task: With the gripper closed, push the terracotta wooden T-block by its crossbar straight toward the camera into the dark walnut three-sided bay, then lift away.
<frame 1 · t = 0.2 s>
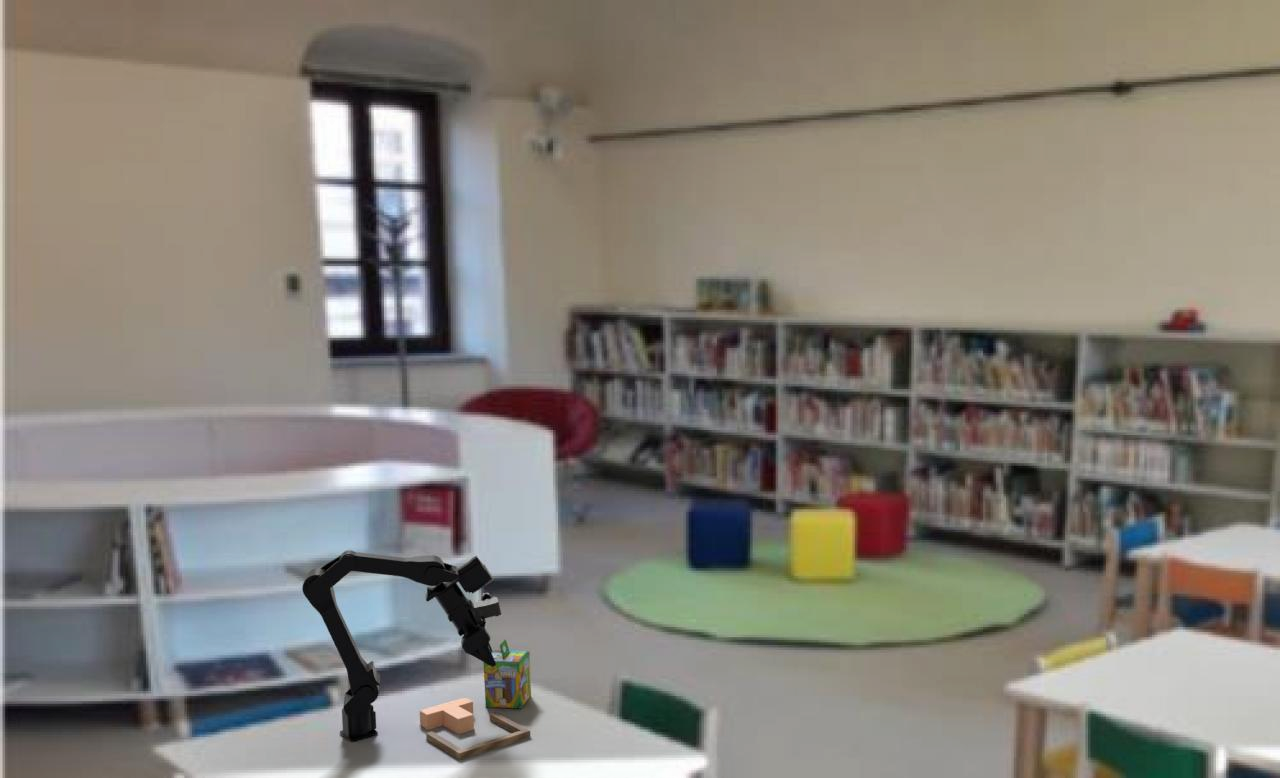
hand: (492, 659, 258), 15 cm above the table, tool tilted 30°, fingers open, 9 cm apart
t block: (453, 724, 258), on the table
bay: (475, 736, 250), on the table
chalk box: (508, 702, 271), on the table
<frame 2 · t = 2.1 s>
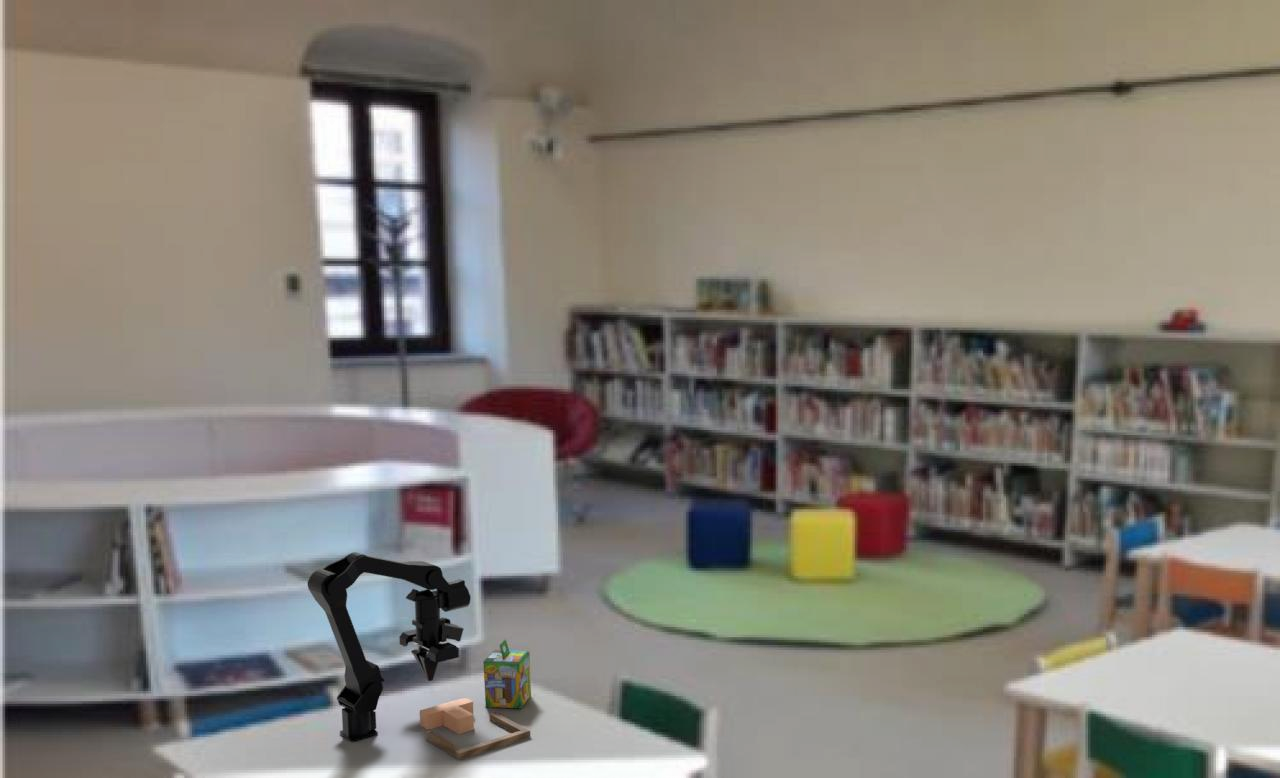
hand: (430, 680, 265), 8 cm above the table, tool pointing down, fingers closed
nothing on the table moved.
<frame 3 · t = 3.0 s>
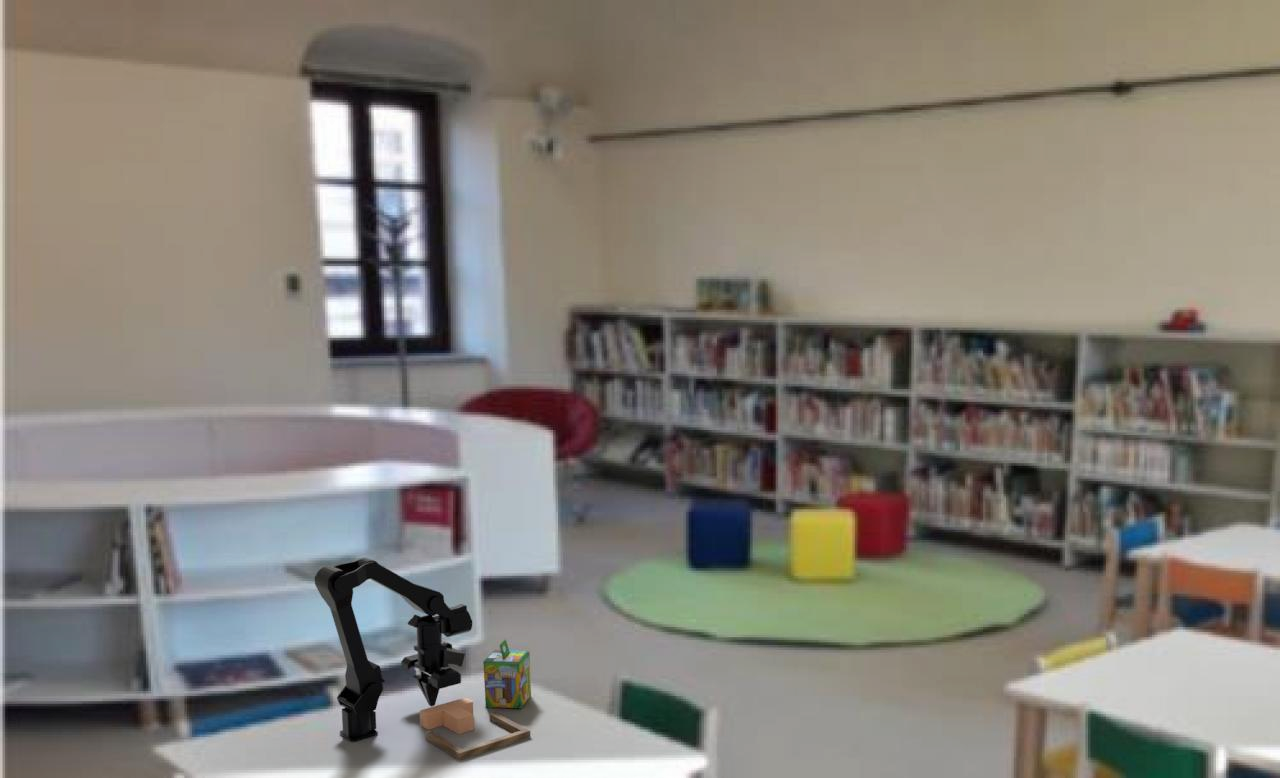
hand: (432, 705, 265), 2 cm above the table, tool pointing down, fingers closed
nothing on the table moved.
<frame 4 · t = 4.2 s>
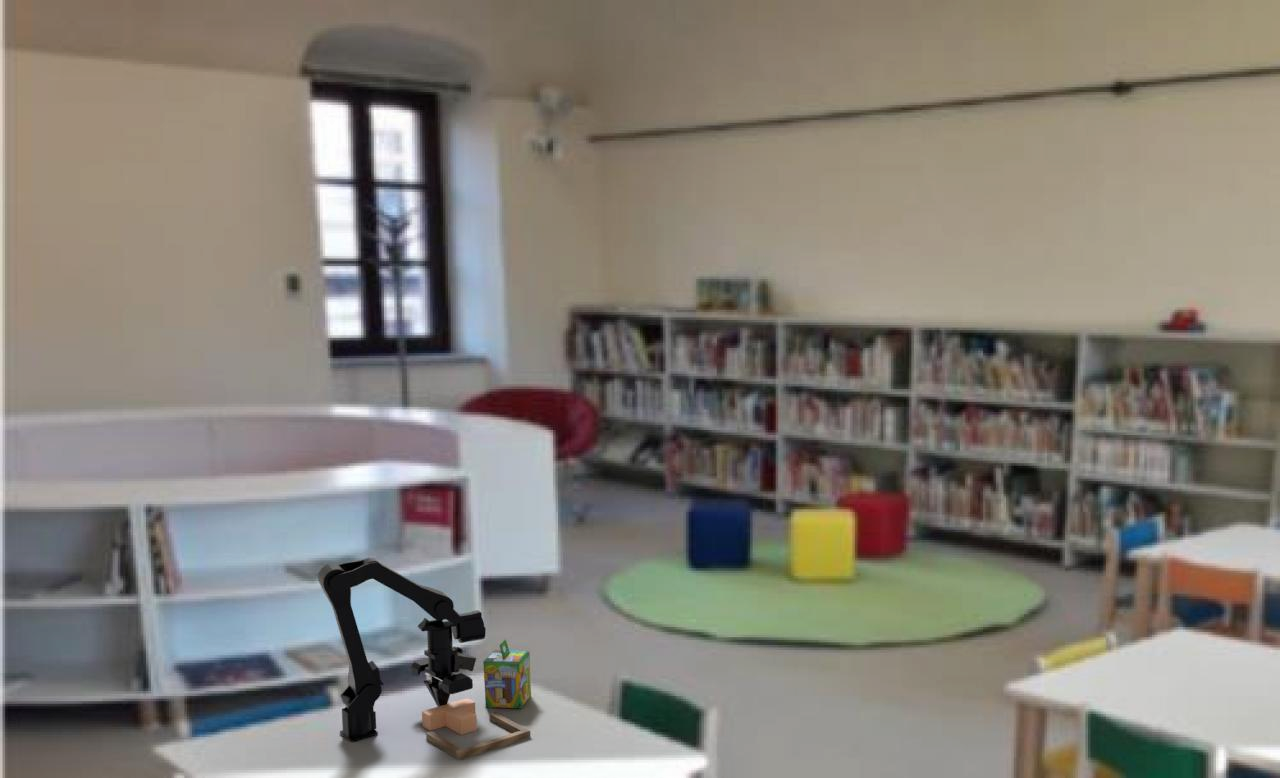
hand: (442, 711, 262), 2 cm above the table, tool pointing down, fingers closed
t block: (455, 724, 257), on the table, touching gripper
everything else where it was.
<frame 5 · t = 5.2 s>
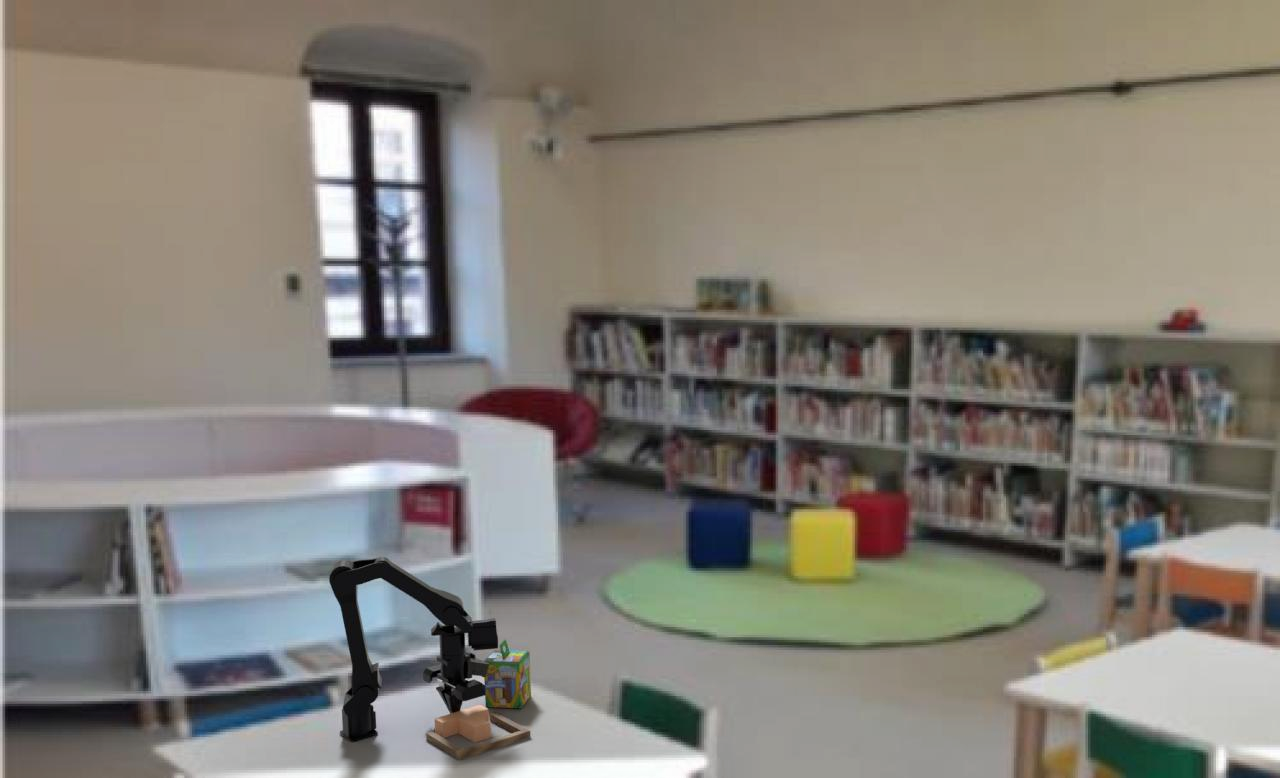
hand: (455, 717, 257), 2 cm above the table, tool pointing down, fingers closed
t block: (468, 732, 253), on the table, touching gripper
everything else where it was.
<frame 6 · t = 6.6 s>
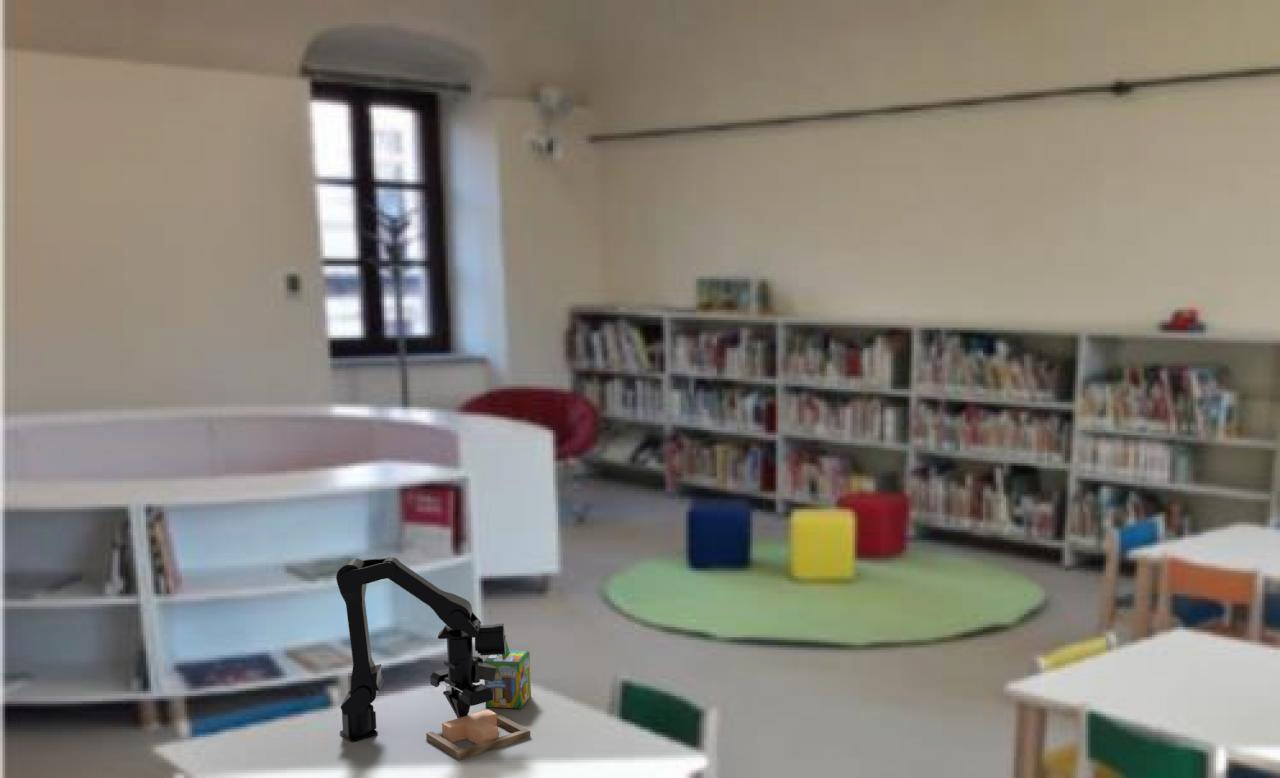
hand: (462, 722, 255), 2 cm above the table, tool pointing down, fingers closed
t block: (476, 737, 250), on the table, touching gripper
everything else where it was.
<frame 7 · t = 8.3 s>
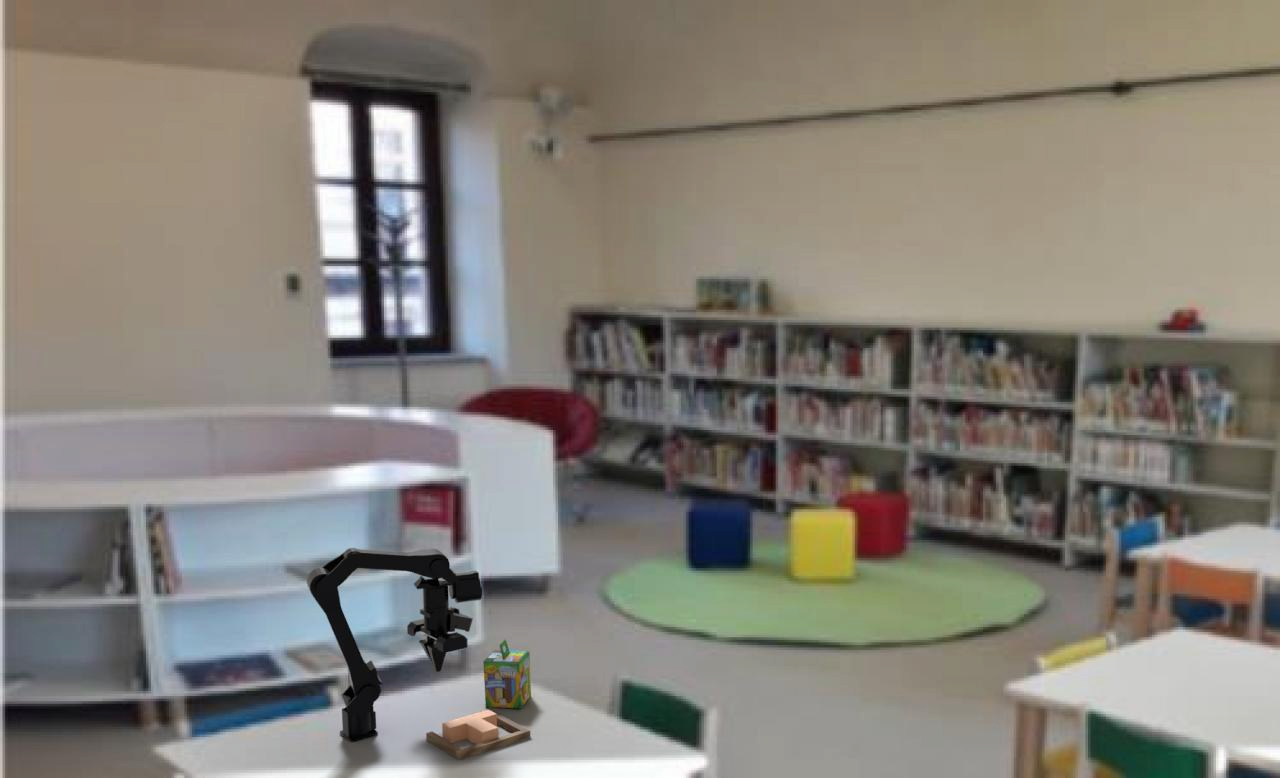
hand: (437, 671, 259), 12 cm above the table, tool pointing down, fingers closed
t block: (476, 737, 250), on the table
everything else where it was.
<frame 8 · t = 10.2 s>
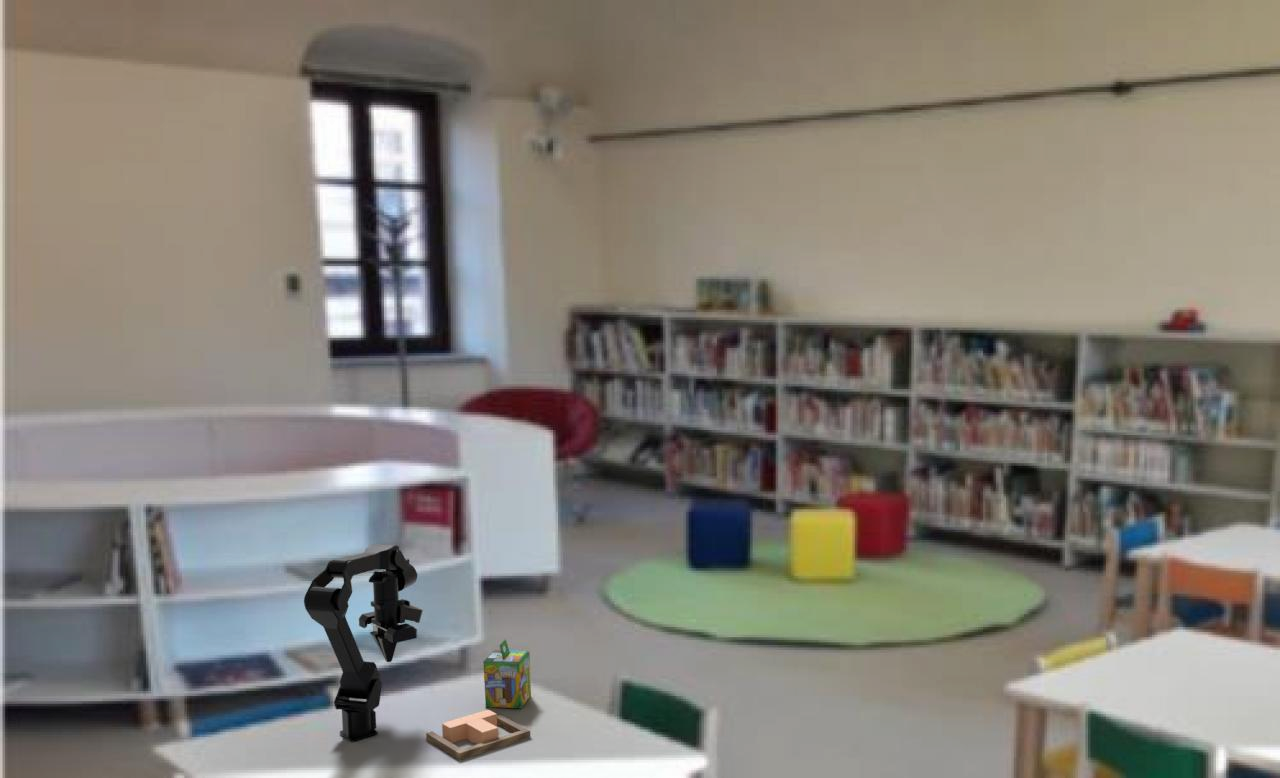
hand: (388, 661, 266), 12 cm above the table, tool pointing down, fingers closed
nothing on the table moved.
at the end: t block 0.2 cm off-centre on the bay, point 0.0 cm above the bay's base; t block moved 10.3 cm from its start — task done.
